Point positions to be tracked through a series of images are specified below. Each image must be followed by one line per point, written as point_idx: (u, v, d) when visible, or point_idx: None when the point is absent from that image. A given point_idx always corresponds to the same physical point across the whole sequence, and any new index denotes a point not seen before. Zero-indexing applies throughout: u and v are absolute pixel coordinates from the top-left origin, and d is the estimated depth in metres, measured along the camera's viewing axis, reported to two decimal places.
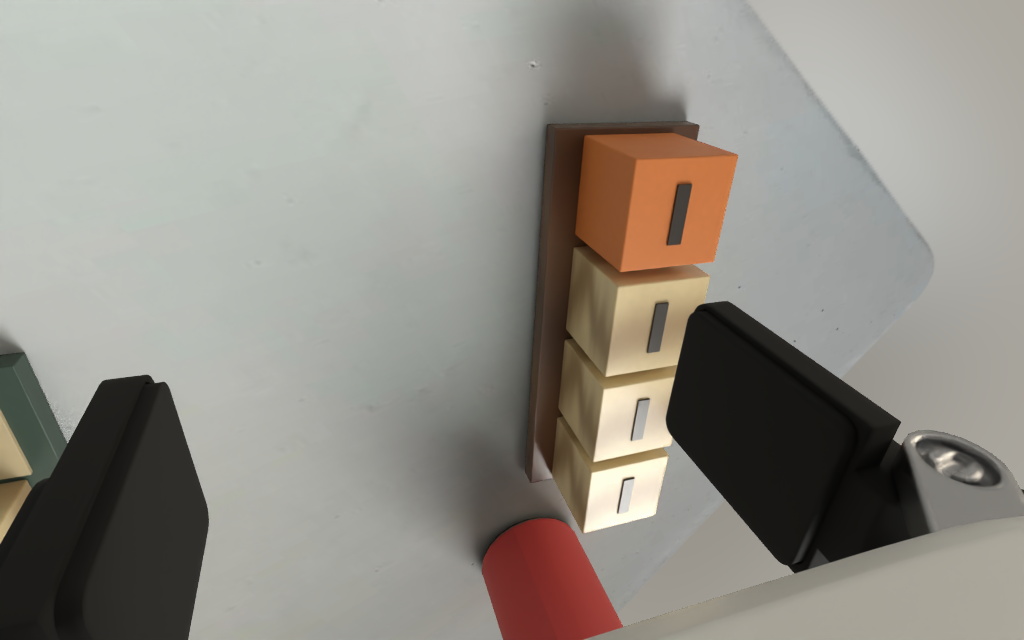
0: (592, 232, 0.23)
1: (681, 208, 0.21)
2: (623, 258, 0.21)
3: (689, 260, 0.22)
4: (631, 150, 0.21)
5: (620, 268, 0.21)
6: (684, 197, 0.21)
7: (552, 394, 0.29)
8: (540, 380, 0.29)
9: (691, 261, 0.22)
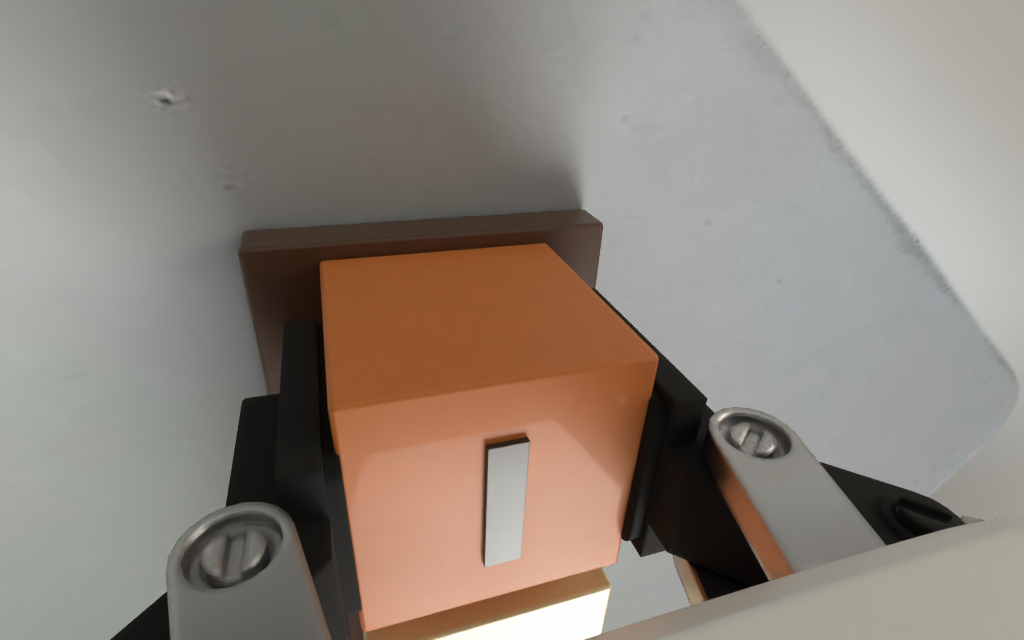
0: None
1: (509, 489, 0.08)
2: (365, 607, 0.08)
3: (551, 574, 0.09)
4: (364, 345, 0.07)
5: (363, 627, 0.08)
6: (514, 466, 0.08)
7: None
8: None
9: (558, 574, 0.09)
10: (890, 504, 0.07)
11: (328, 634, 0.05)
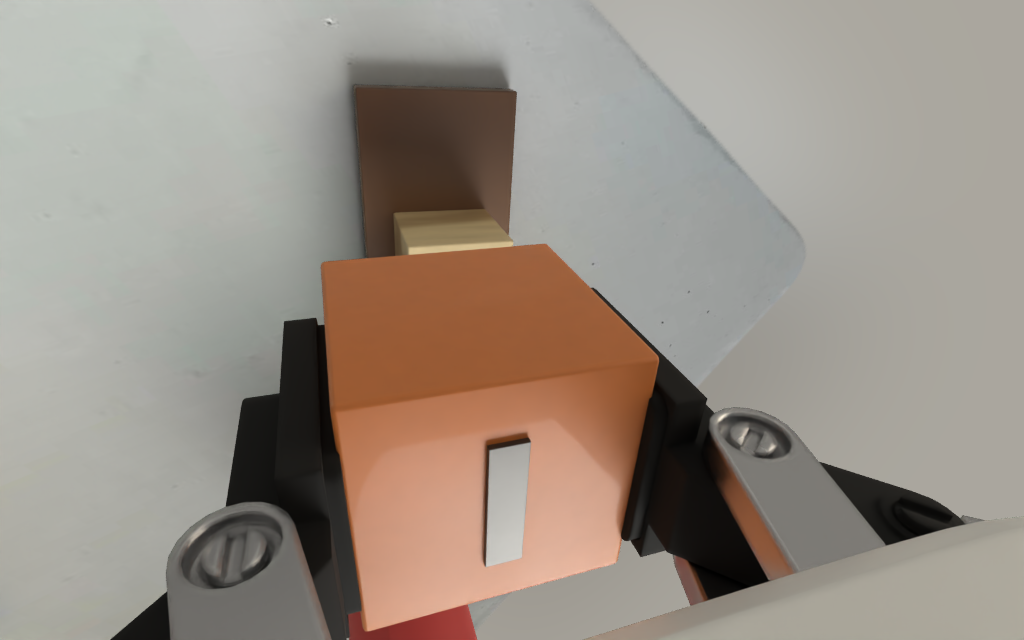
0: None
1: (510, 489, 0.08)
2: (366, 606, 0.08)
3: (552, 574, 0.09)
4: (365, 345, 0.07)
5: (364, 626, 0.08)
6: (515, 467, 0.08)
7: None
8: None
9: (558, 574, 0.09)
10: (890, 504, 0.07)
11: (328, 634, 0.05)
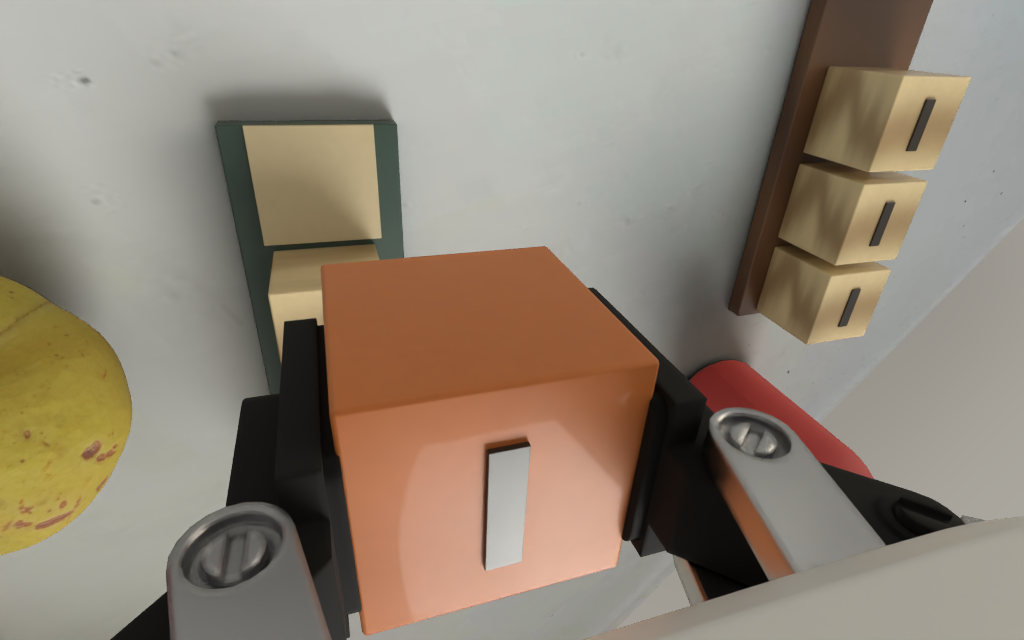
0: None
1: (510, 493, 0.08)
2: (366, 610, 0.08)
3: (552, 577, 0.09)
4: (365, 349, 0.07)
5: (364, 631, 0.08)
6: (515, 470, 0.08)
7: (776, 221, 0.33)
8: (771, 204, 0.32)
9: (558, 578, 0.09)
10: (890, 504, 0.07)
11: (328, 634, 0.05)
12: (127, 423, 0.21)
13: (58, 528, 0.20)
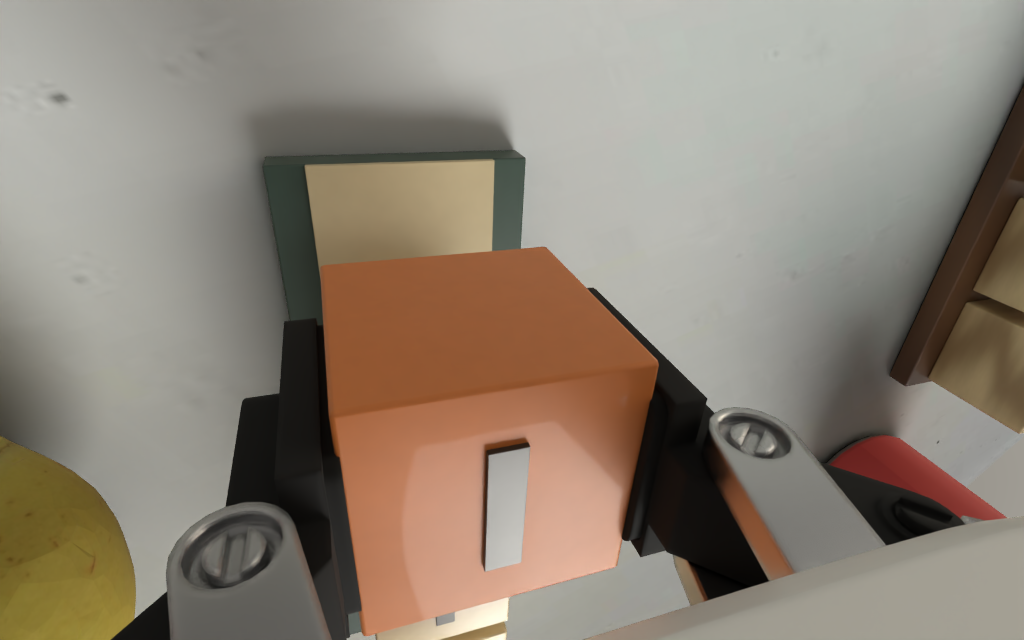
0: None
1: (509, 493, 0.08)
2: (366, 611, 0.08)
3: (551, 578, 0.09)
4: (364, 350, 0.07)
5: (363, 631, 0.08)
6: (515, 471, 0.08)
7: (975, 271, 0.25)
8: (974, 250, 0.24)
9: (558, 578, 0.09)
10: (890, 504, 0.07)
11: (328, 634, 0.05)
12: None
13: None
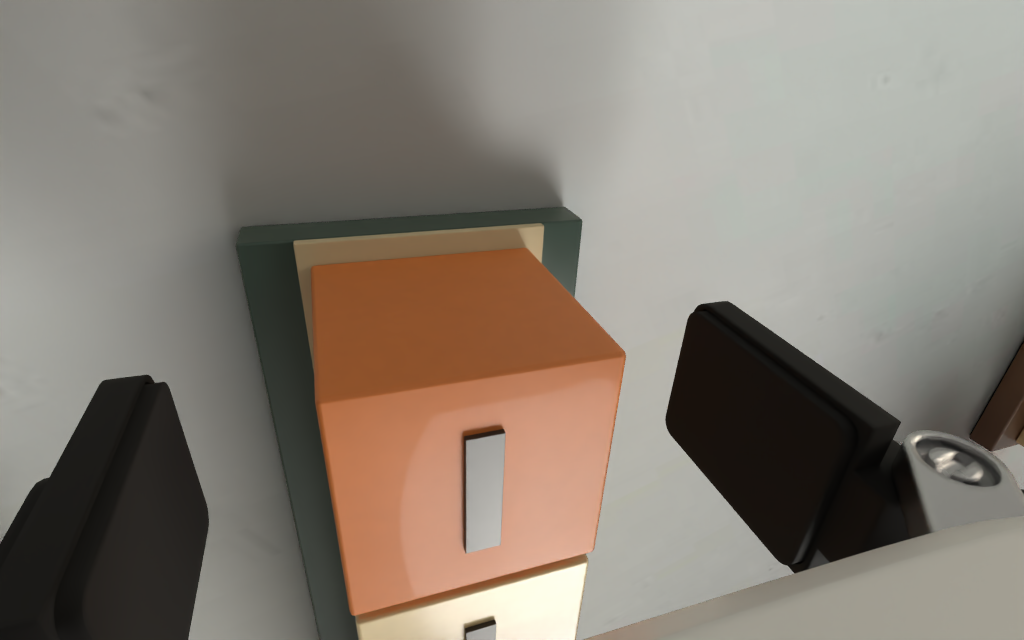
0: None
1: (487, 478, 0.08)
2: (353, 591, 0.09)
3: (531, 561, 0.10)
4: (350, 343, 0.08)
5: (351, 610, 0.09)
6: (492, 457, 0.08)
7: None
8: None
9: (537, 562, 0.10)
10: None
11: None
12: None
13: None
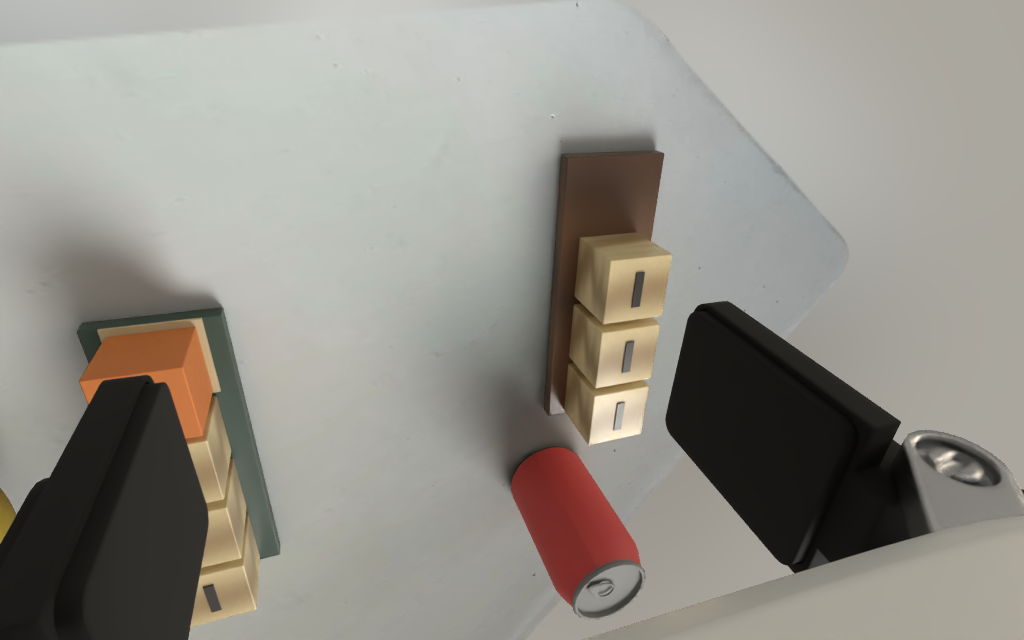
0: None
1: None
2: None
3: None
4: (98, 365, 0.27)
5: None
6: None
7: (564, 345, 0.41)
8: (556, 334, 0.40)
9: None
10: None
11: None
12: None
13: None
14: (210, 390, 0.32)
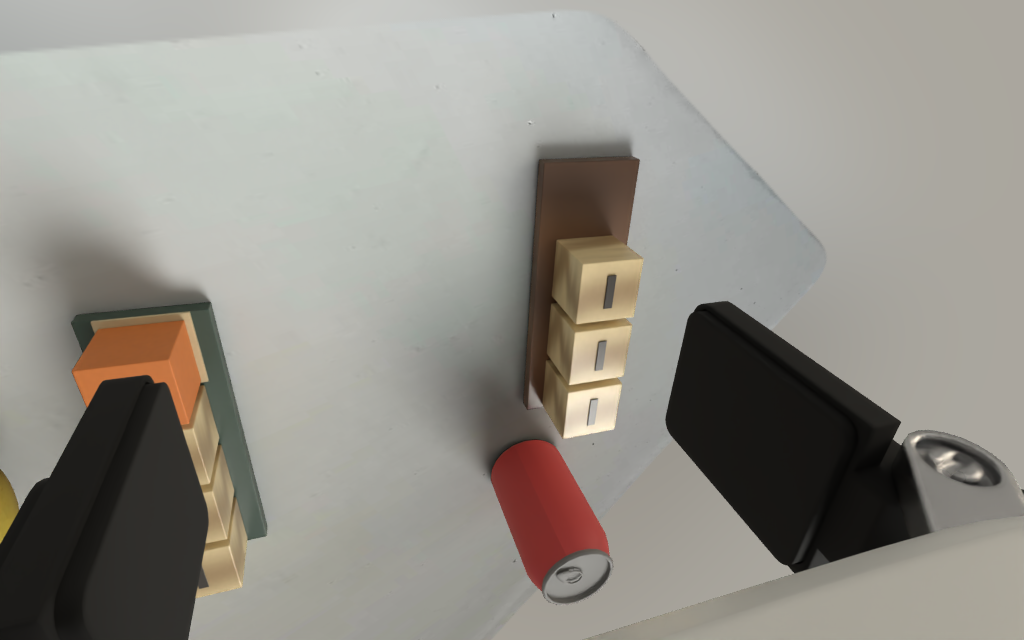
0: None
1: None
2: None
3: None
4: (90, 356, 0.29)
5: None
6: None
7: (542, 343, 0.42)
8: (534, 332, 0.41)
9: None
10: None
11: None
12: None
13: None
14: (198, 380, 0.34)
